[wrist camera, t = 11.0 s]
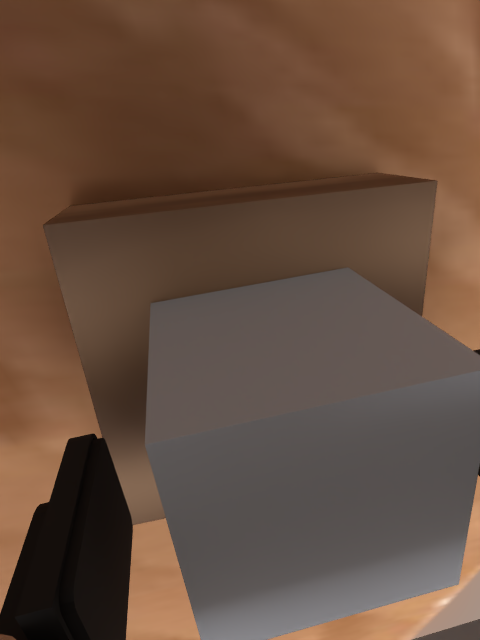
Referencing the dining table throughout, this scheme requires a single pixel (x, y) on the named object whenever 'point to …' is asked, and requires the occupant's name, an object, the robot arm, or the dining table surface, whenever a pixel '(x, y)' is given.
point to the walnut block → (217, 274)
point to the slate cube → (309, 451)
